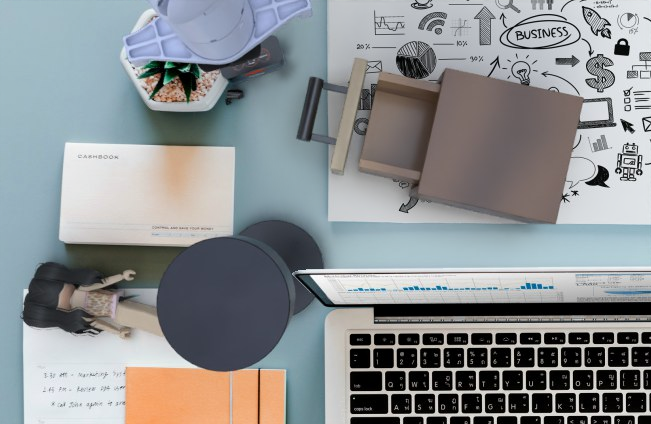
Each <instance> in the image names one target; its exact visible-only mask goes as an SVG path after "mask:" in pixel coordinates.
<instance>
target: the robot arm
mask: <svg viewBox="0 0 651 424" xmlns="http://www.w3.org/2000/svg"><path fill="white" fill-rule="evenodd" d="M146 1H147V3H148V4H149V6H150V7H151V9H152V10H153V11H154V12H155V13H156V14H157V16H156V17H155V18H153V19H152V20H151V21H149V22H148V23H147V24H146V25H144V26H143V27H141V28H140V29H138V30H136V31H134V32H132V33H129V34H127V35H123V36H122V38H121V39H122V42H123V46H124V49H125V54H126V56H127V60H128V62H129V63H130V64H132V65H133V66H135V67H136V68H139V67H140V68H141V67H143V66H146V65H148V64H149V63H150V61H152V62H154V61H155V62H157V61H159V62H172V63H173V62H174V63H187V64H188V63H189V64H196V65H197V67H198V68H199V69H200V70H202V71H203V72H204V73H212V72H214V71H220V69H222V68H225V67H229V66H230V67H233V66H236V65H240V64H243V63H246V62H247V61H249V60H253V59H255V58H257V57H259V56H260V54H261V44H260V43H261V42H262V41H264V40H265V39H266V38H268V37H269V36H271V35H274V34H275V33H276V32H277V31H278V30H280V29H281V28H283V27H284V26H286V25H287V24H288V23H290V22H291V21H293V20H294V19H295V18H299V19H300V20H303V19H307V18H311V17H313V8H312V5H311V2H310V0H146Z"/></svg>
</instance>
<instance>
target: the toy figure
mask: <svg viewBox="0 0 651 424" xmlns="http://www.w3.org/2000/svg"><path fill="white" fill-rule="evenodd" d="M38 265H39V266H37V268H36V267H35V269H34V270H35V273H34V274H33V278H31V280H30V281H29V283H28V289H27V291H28V292H27V293H26V294H25V296H24V300H23V310H22V313H20V315H19V318H20V319H22V321H23V322H24V324H25V325H27V326H28V327H29V328H31V329H34V330H35V328H36V330H37V331H38V330H39V331H40V329H47V331H50V330H52V329H53V328H56V330H62V331H64V332H65V333H69V334H70V335H73V336H74V337H77V335H82V337H83V336H85V337H86V334H88V337H89V336H90V337H92V338H95V336H97V335H99V334H101V333H102V332H108V333H111V334H113V335H119V338H120V339H122V340H130V339H132V336H131V328H132V329H138V330H140V331H143V332H146V333H149V334H152V335H155V336H158V337H160V338H161V337H165V336H164V334H163V333H162V330H161V327H160V325H159V321H158V317H157V308H156V307H154V306H152V305H148V304H143V303H139V302H135V301H130V299H133V298H138V297H140V296H141V294H132V295H127V296H124V295H125V291H124V290H119V291H118V286H117V285H116V283H119V282H120V281H122V280H126V281H133V280H134V279H135V278H134V276H130V275H136V274H137V272H136V271H135V270H133V269H126V270H124V271H123V272H122V274H121V273H119V274H115V275H112V276H108V275H107V273H106V272H105V271H97V270H95V269H93V268H92V267H90V266H87V267H85V266H84V267H80V268H79V267H78V268H76V269H73V268H69V267H68V266H66V265H64V264H62V263H61V264H60V263H59V262H56V261H55V262H54V261H46V262H40V263H38ZM104 274H105V276H104ZM76 287H78V288H76ZM110 289H111V290H110ZM114 289H115V290H117V291H113V290H114ZM21 314H22V316H21ZM105 316H106V317H107V316H108V318H110V319H112V321H113V323H115V324H117V325H119V326H122V327H120V328H119V327H117V326H115V325H112V324H111V323H109V322H106V321H105V320H103V319H100V318H99V317H105ZM92 330H93V331H92Z"/></svg>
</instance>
